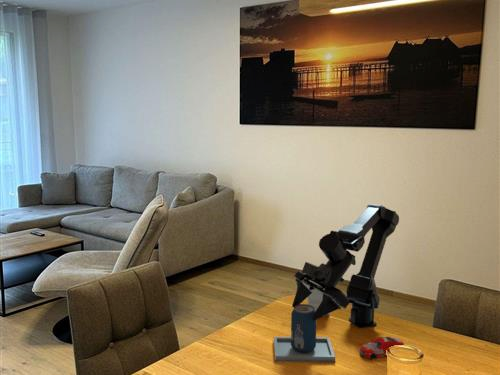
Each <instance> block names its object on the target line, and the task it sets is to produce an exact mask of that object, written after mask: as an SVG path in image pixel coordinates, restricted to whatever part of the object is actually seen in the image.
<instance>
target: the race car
mask: <svg viewBox="0 0 500 375" xmlns="http://www.w3.org/2000/svg"><path fill="white" fill-rule="evenodd" d="M394 345H404V346H405V343H404V342H403V341H402V339H400V338H398V337H392V336H382V337H381V336H380V337H378V338H374V339H370V341H369V342H366V343H363V344H361V345H360V347H359V354H360V356H362V357H364V358H365V359H370V360H376V359H378V358H384V357H387V356H386V350H387V349H388V348H389V347H391V346H394Z"/></svg>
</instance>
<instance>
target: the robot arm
mask: <svg viewBox="0 0 500 375" xmlns="http://www.w3.org/2000/svg"><path fill="white" fill-rule="evenodd" d="M399 223H400V217H399V214H398V213H397V212H396V211H395V210H391V209H389V208H387V207H385V205H383V204H381V205H380V204H375V203H374V204H373V203H370V204H368V205H367V206H366V209H365V210H364V211H363V212H362V213H361V214H360V215H359V217H358V218H357V219H356V220H355V221H354V222H353V223H352V224H349V225H344V226H343V227H342V228H340V229H339V230H338V231H336V230H330V232H329V233H327V234H325V235H323V236H322V237H321V238H320V239H319V241H318V247H319V249H320V250H321V251H322V254H323V255H324V256H325V257H326V258H327V262H326V263H320V264H319V265H316V264H313V263H310V262H307V261H305V262H304V265H303V268H302V270H298V271H297V272H296V273H295V275H293V277H294V278H295V279H294V280H295V282H296V285H297V288H296V291H295V296H294V299H293V302H292V305H291V306H292V308H293V309H294V306H296V305H299V304H303V302H304V301H305V300H307V299H308V296H309V295H310V294H312V292H311V291H310V290H314V289H317V290H318V291H320V292H322V293H323V299H322V302H321V304H320V305H319V307H318V308H317V310H316V311H315V313H314V315H313V316H312V319H313V320H314V321H315V320H316V321H317V320H319V319H320V318H323V317H324V316H326V314H328V313H332V312H334V311H338V310H340V311H341V309H345V310H346V309H347V307H348V305H349V304H351V308H350V317H349V318H348V321H350V322H351V323H352V324H354V325H355V326H356V327H358V328H360V329H361V328H366V327H372V326H377V322H376V321H375V320H374V319H375V309H378V308H379V306H380V300H381V299H380V297H379V295H378V293H377V292H376V291H377V284H376V281H375V275H377V274H376V273H377V270H378V266H379V263H380V260H381V257H382V254H383V250H384V248H385V245H386V242H387V240H388V237H390V235H392V234H394V232H395V230H396V227H397V226H398V224H399ZM371 230H372V232H371V235H370V238H369V240H368V245H367V248H366V250H365V251H366V252H365V254H364V257H363V259H362V264H361V266H360V269H359V272H357V273H356V274H351V277H350V280H349V283H348V285H347V287H346V294H345V293H344V292H343V291H342V290H341V289H340V288H338V287H336V286H337V285H338V283H339V282H341V283H343V282H344V281H345V279H344V278H343V276H344V275H345V274H346V272H347V271H348V269H349V268H350V267H351V265H353V266H355V265H356V264H357V263H356V262H357V261H356V255H354V254H352V253H351V252H350V251H352V252H355V253H357V252H360V250H362V248H364V245H365V240H366V239H365V237H366V235H367V234H368V233H369V232H370V231H371ZM324 289H325V290H324ZM325 294H326V295H325ZM327 295H328V296H327Z"/></svg>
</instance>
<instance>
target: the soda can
mask: <svg viewBox="0 0 500 375" xmlns="http://www.w3.org/2000/svg"><path fill="white" fill-rule="evenodd" d="M314 313H315V310H314V307H313V306H311V305H307V303H301V304H299V305H296V306H294V308H293V309H292V311H291V313H290V314H291V315H290V337H291V346H292V348H293V349H294V351H295V352H297V353H301V354H308V353H311V352H312V351H313V350H314V348H315V347H316V337H317V320H315V321H314V320H313V319H312V316H313V315H314Z"/></svg>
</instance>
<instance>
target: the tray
mask: <svg viewBox="0 0 500 375" xmlns="http://www.w3.org/2000/svg"><path fill="white" fill-rule="evenodd" d="M332 345H333V344H332V343H331V340H330V337H325V336H324V337H323V336H322V337H321V336H320V337H319V336H316V347H315V348H314V350H313V351H312V352H311V353H308V354H301V353H297V352H295V351H294V349H293V348H292V346H291V336H273V350H274V359H275V360H274V361H275V362H283V363H284V362H285V363H286V362H290V363H291V362H292V363H293V362H295V363H296V362H299V363H301V362H302V363H305V362H306V363H307V362H308V363H336V355H335V351H334V349H333V346H332Z"/></svg>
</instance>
